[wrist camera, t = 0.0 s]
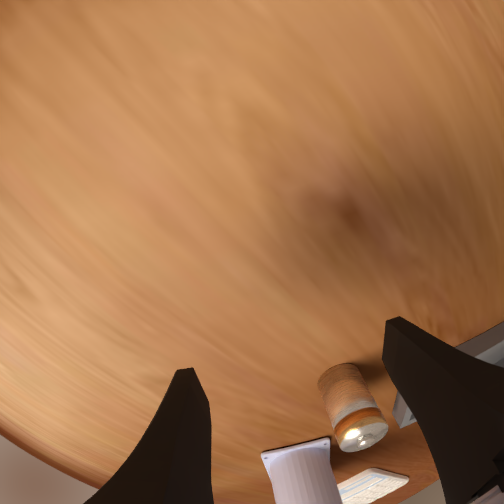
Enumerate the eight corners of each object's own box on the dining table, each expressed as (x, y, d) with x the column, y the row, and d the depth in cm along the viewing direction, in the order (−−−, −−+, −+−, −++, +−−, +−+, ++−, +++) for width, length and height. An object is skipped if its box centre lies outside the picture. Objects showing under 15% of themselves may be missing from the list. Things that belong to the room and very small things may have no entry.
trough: (504, 355, 31) (514, 365, 28) (392, 413, 30) (400, 428, 28) (521, 311, 27) (532, 321, 25) (402, 370, 27) (413, 386, 24)
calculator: (355, 503, 47) (357, 509, 45) (303, 497, 40) (306, 505, 38) (408, 475, 44) (411, 481, 42) (370, 464, 37) (373, 473, 35)
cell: (358, 386, 27) (387, 446, 20) (317, 398, 26) (341, 463, 19) (360, 357, 25) (395, 422, 18) (316, 370, 25) (343, 441, 18)
